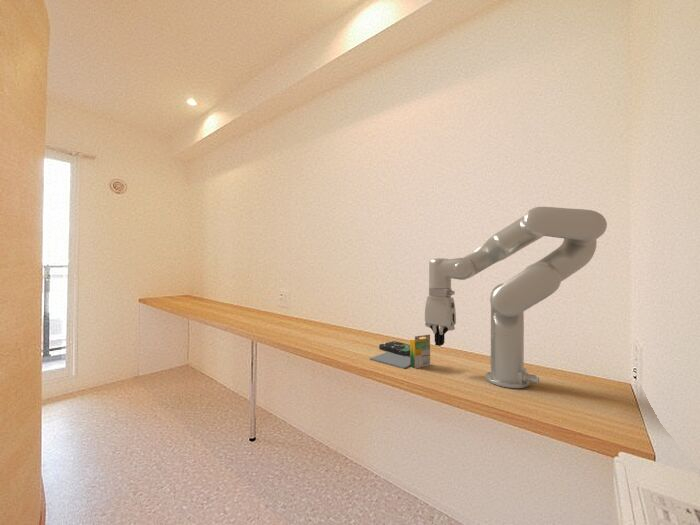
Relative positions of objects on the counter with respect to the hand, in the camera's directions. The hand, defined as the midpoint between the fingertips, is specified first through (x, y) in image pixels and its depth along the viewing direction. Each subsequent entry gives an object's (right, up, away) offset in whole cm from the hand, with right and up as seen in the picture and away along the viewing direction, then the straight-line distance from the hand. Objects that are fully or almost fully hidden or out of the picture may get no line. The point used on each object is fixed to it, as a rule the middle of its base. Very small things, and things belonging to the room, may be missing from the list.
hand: (439, 344), depth 108 cm
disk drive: (-10, -10, +25) cm, 29 cm away
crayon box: (-6, -9, +5) cm, 12 cm away
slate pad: (-14, -9, +12) cm, 20 cm away
